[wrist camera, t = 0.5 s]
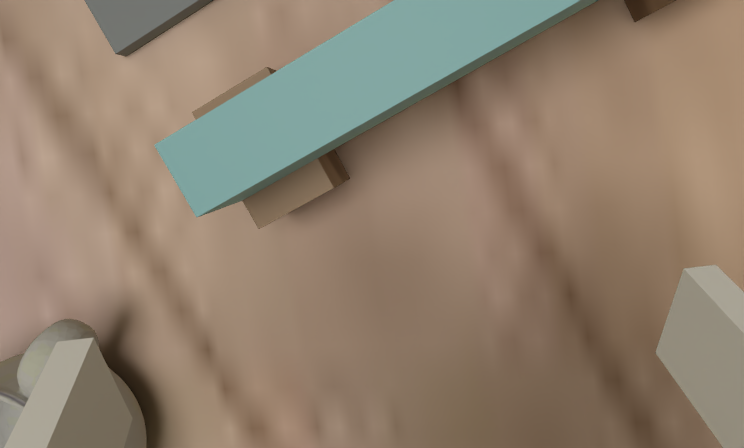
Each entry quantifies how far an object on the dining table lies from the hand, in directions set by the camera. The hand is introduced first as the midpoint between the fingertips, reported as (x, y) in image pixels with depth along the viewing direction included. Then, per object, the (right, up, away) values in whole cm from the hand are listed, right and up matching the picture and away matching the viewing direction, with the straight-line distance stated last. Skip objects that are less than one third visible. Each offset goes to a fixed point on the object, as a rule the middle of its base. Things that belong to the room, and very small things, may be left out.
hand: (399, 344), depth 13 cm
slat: (+3, +11, +10) cm, 15 cm away
